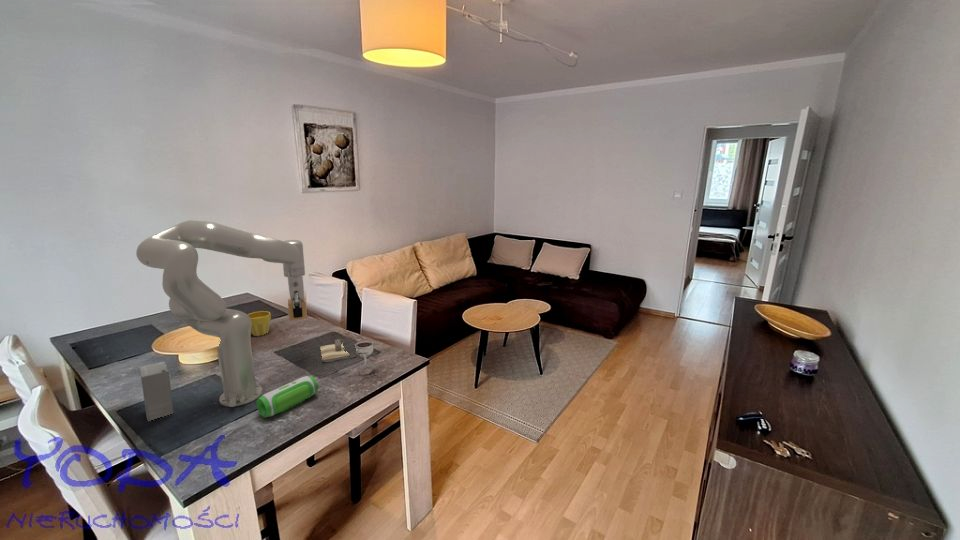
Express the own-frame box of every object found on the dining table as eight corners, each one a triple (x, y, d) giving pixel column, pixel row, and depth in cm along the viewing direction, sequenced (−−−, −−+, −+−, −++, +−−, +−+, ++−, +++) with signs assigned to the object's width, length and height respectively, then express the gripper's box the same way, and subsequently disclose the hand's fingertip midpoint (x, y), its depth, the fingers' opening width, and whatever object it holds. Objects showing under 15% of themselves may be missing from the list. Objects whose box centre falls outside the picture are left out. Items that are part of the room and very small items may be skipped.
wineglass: (369, 377, 143) (368, 348, 140) (353, 374, 144) (351, 346, 142) (377, 368, 150) (376, 341, 147) (362, 366, 151) (360, 339, 148)
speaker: (307, 390, 134) (306, 371, 132) (319, 396, 130) (318, 377, 128) (257, 414, 120) (254, 393, 118) (268, 422, 116) (265, 401, 114)
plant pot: (251, 330, 183) (248, 311, 181) (274, 328, 186) (272, 310, 184) (245, 338, 174) (242, 319, 171) (270, 336, 177) (267, 317, 174)
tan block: (307, 318, 149) (305, 301, 148) (289, 320, 147) (287, 303, 145) (306, 313, 155) (305, 297, 153) (289, 315, 152) (288, 299, 151)
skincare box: (145, 411, 120) (135, 366, 116) (173, 402, 125) (165, 359, 121) (147, 423, 114) (137, 377, 110) (177, 413, 119) (168, 369, 115)
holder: (357, 357, 159) (357, 344, 157) (322, 363, 153) (321, 350, 151) (353, 344, 171) (352, 331, 170) (320, 349, 165) (319, 337, 163)
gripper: (305, 275, 141) (309, 320, 145) (304, 266, 156) (307, 307, 160) (283, 277, 137) (287, 322, 141) (284, 267, 152) (287, 309, 156)
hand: (298, 314), depth 151 cm, fingers closed on tan block, 6 cm apart
